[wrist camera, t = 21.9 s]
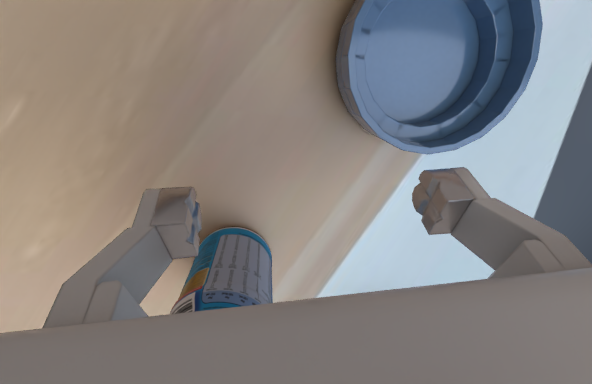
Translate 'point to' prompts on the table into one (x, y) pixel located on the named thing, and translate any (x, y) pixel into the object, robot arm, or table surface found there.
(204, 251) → the beverage bottle
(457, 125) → the bowl
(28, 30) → the table surface
